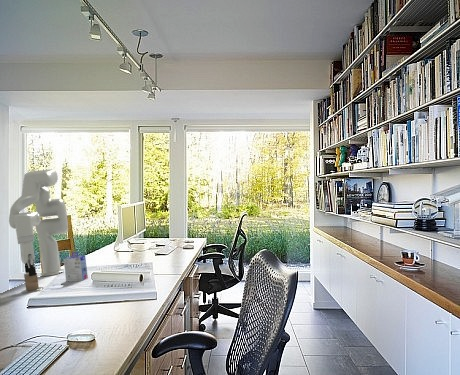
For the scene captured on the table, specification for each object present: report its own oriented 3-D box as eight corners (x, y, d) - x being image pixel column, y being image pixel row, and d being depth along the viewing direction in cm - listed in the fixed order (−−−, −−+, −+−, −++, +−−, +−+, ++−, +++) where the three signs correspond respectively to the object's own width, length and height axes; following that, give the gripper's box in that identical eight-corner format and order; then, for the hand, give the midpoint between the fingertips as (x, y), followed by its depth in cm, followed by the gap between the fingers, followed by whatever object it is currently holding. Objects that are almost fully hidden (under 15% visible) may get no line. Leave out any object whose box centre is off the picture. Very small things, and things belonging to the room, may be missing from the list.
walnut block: (26, 290, 224) (23, 274, 224) (36, 287, 227) (34, 271, 227) (27, 291, 220) (25, 275, 220) (38, 289, 223) (36, 273, 223)
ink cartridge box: (88, 278, 239) (85, 250, 238) (83, 280, 233) (79, 252, 233) (71, 279, 241) (68, 252, 240) (65, 282, 235) (62, 254, 235)
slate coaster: (19, 291, 225) (19, 290, 225) (41, 286, 230) (41, 286, 230) (23, 294, 217) (23, 293, 217) (45, 289, 222) (45, 289, 222)
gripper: (14, 239, 228) (19, 273, 229) (20, 242, 214) (25, 278, 215) (31, 236, 232) (35, 269, 233) (37, 239, 218) (42, 275, 219)
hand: (30, 274), depth 224 cm, fingers open, 9 cm apart
